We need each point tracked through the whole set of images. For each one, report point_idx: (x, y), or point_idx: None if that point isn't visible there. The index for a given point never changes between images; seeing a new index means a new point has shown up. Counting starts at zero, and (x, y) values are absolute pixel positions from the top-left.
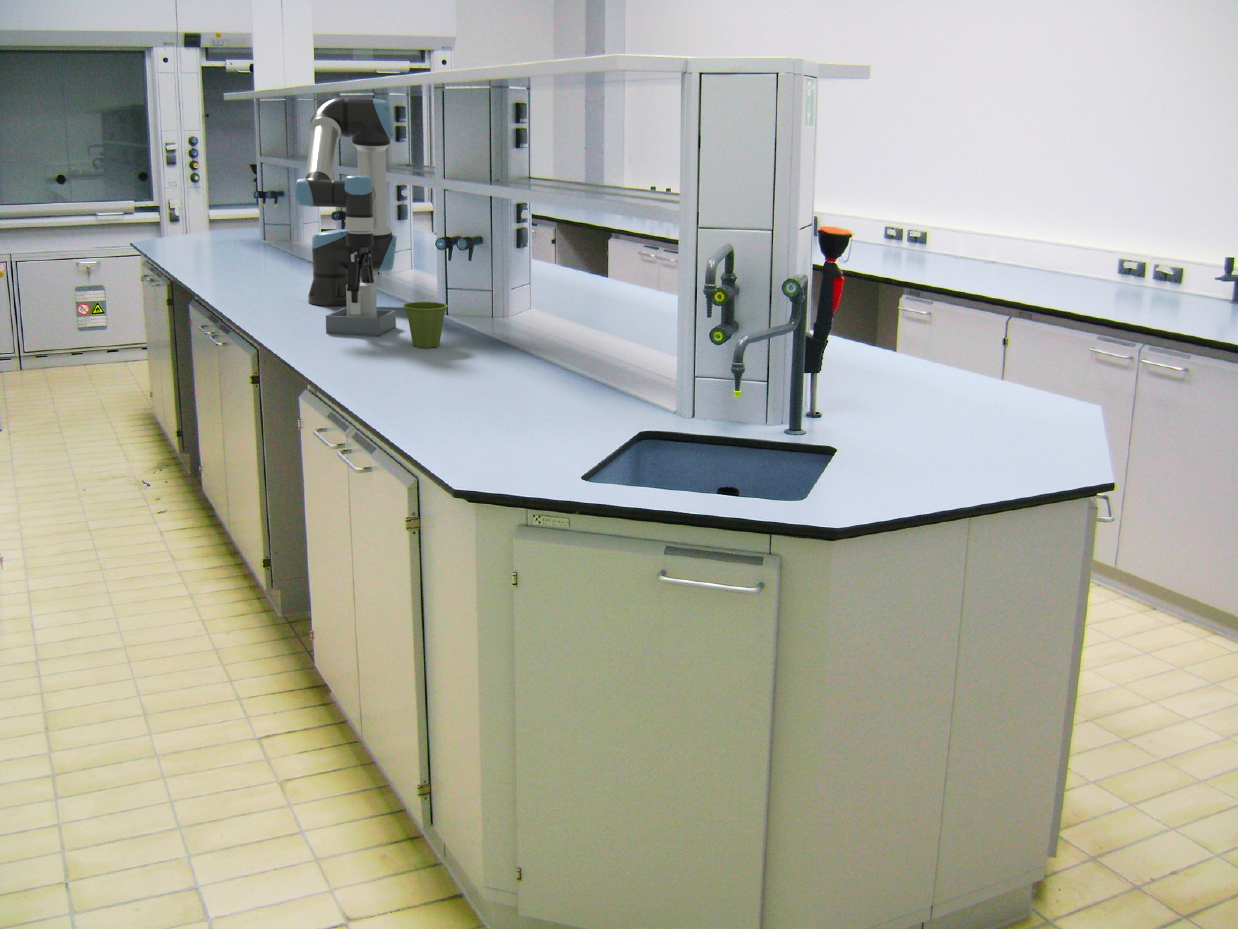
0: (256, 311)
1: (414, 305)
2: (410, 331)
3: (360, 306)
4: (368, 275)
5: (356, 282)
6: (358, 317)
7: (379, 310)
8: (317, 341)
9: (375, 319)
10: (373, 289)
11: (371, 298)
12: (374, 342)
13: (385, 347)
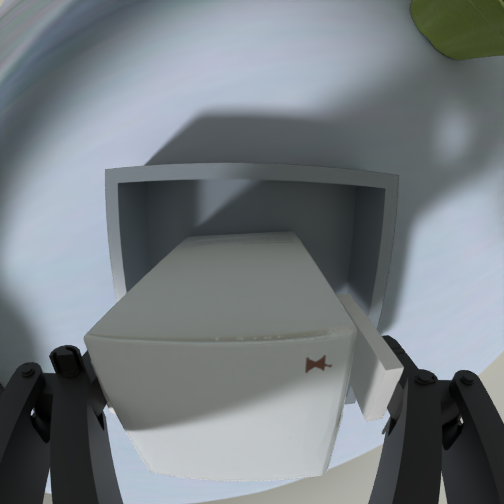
0: (126, 485)
1: (498, 7)
2: (486, 56)
3: (353, 313)
4: (90, 449)
5: (485, 405)
6: (379, 286)
7: (122, 253)
8: (448, 333)
9: (395, 197)
10: (253, 311)
11: (321, 278)
12: (452, 174)
13: (491, 135)
